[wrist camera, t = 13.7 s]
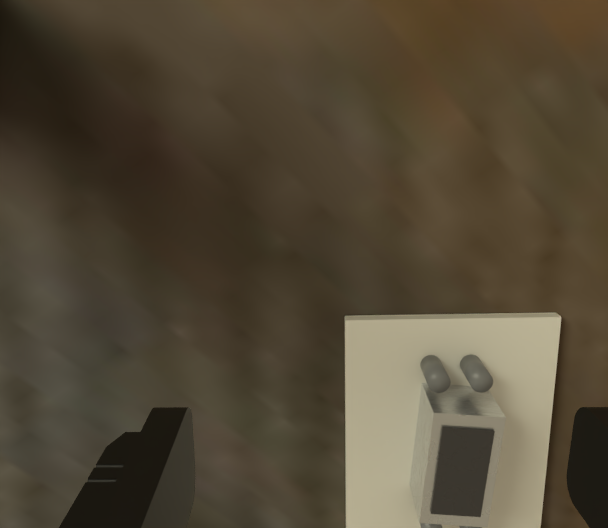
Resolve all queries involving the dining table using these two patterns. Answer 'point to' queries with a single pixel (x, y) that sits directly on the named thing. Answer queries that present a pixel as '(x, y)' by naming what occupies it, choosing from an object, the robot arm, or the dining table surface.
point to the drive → (456, 456)
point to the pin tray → (400, 401)
